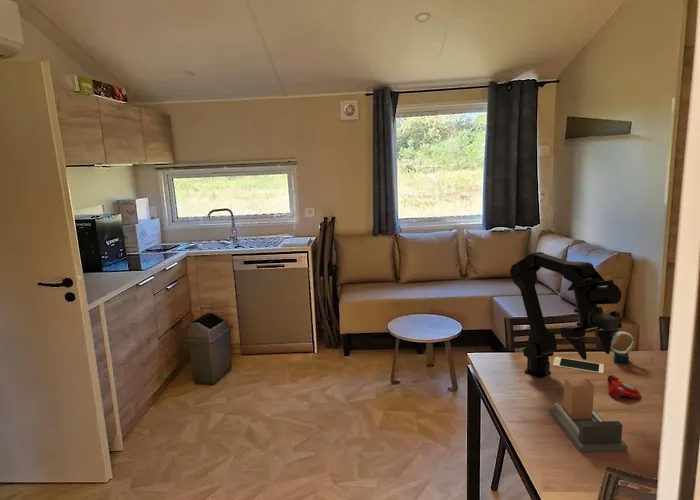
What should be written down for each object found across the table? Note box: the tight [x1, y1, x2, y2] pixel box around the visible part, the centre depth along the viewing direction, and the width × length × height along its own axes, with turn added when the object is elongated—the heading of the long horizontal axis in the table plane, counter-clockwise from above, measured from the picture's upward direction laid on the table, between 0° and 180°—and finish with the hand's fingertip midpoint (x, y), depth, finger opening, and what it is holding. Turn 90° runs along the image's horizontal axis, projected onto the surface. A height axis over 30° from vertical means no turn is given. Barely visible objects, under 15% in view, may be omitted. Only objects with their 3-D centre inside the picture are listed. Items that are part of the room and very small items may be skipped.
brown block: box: [562, 377, 595, 419], centre depth 137 cm, size 5×6×10 cm
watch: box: [610, 330, 636, 366], centre depth 173 cm, size 6×8×11 cm
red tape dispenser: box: [606, 373, 642, 399], centre depth 153 cm, size 12×4×10 cm
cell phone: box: [552, 356, 605, 375], centre depth 173 cm, size 8×16×1 cm, turn 62°
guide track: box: [548, 402, 628, 453], centre depth 133 cm, size 20×12×6 cm, turn 0°
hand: (596, 356), depth 144 cm, fingers open, 9 cm apart
